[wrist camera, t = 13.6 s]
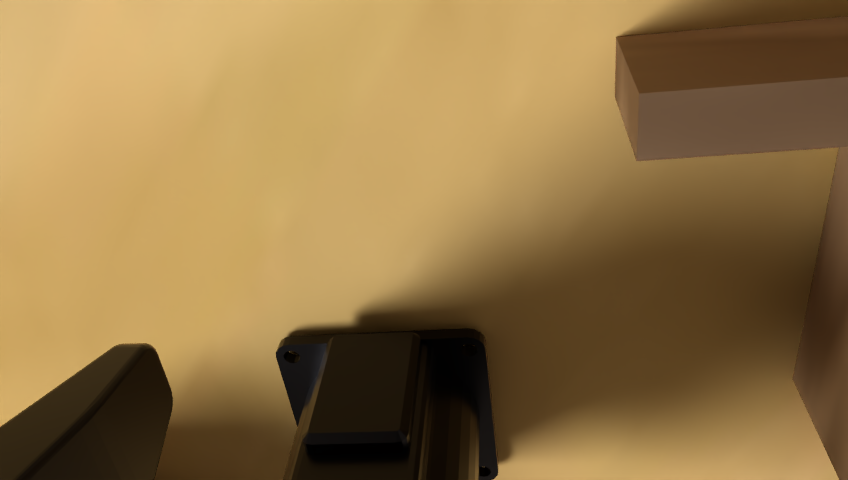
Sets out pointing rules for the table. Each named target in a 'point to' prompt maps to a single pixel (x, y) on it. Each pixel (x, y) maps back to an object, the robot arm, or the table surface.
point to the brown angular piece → (756, 133)
